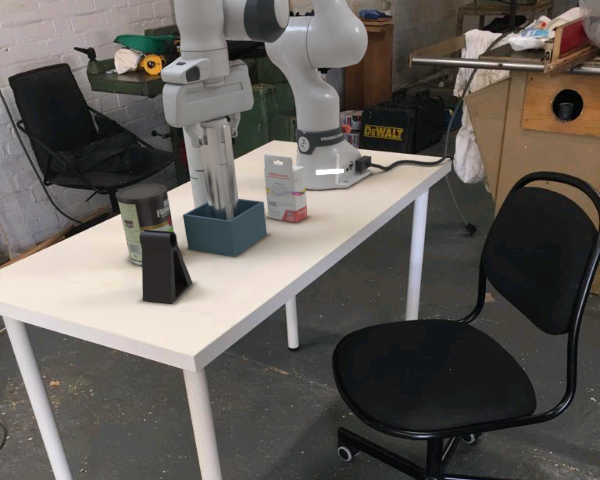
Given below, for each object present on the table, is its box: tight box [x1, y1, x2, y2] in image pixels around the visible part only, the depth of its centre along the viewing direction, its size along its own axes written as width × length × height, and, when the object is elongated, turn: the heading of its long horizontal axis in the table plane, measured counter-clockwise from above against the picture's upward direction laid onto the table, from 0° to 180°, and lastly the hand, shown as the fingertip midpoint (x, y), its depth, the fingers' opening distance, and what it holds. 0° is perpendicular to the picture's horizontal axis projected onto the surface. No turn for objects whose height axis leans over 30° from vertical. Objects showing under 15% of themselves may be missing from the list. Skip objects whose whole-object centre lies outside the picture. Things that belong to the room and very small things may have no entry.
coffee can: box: [115, 182, 175, 266], centre depth 134 cm, size 10×10×14 cm
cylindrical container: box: [182, 123, 208, 209], centre depth 147 cm, size 7×7×25 cm
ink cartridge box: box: [263, 153, 308, 224], centre depth 149 cm, size 9×5×15 cm, turn 55°
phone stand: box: [140, 230, 193, 304], centre depth 119 cm, size 9×6×12 cm, turn 162°
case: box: [182, 198, 268, 258], centre depth 140 cm, size 13×12×8 cm
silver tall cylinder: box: [198, 116, 240, 221], centre depth 135 cm, size 6×6×25 cm
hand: (215, 141), depth 130 cm, fingers open, 8 cm apart
